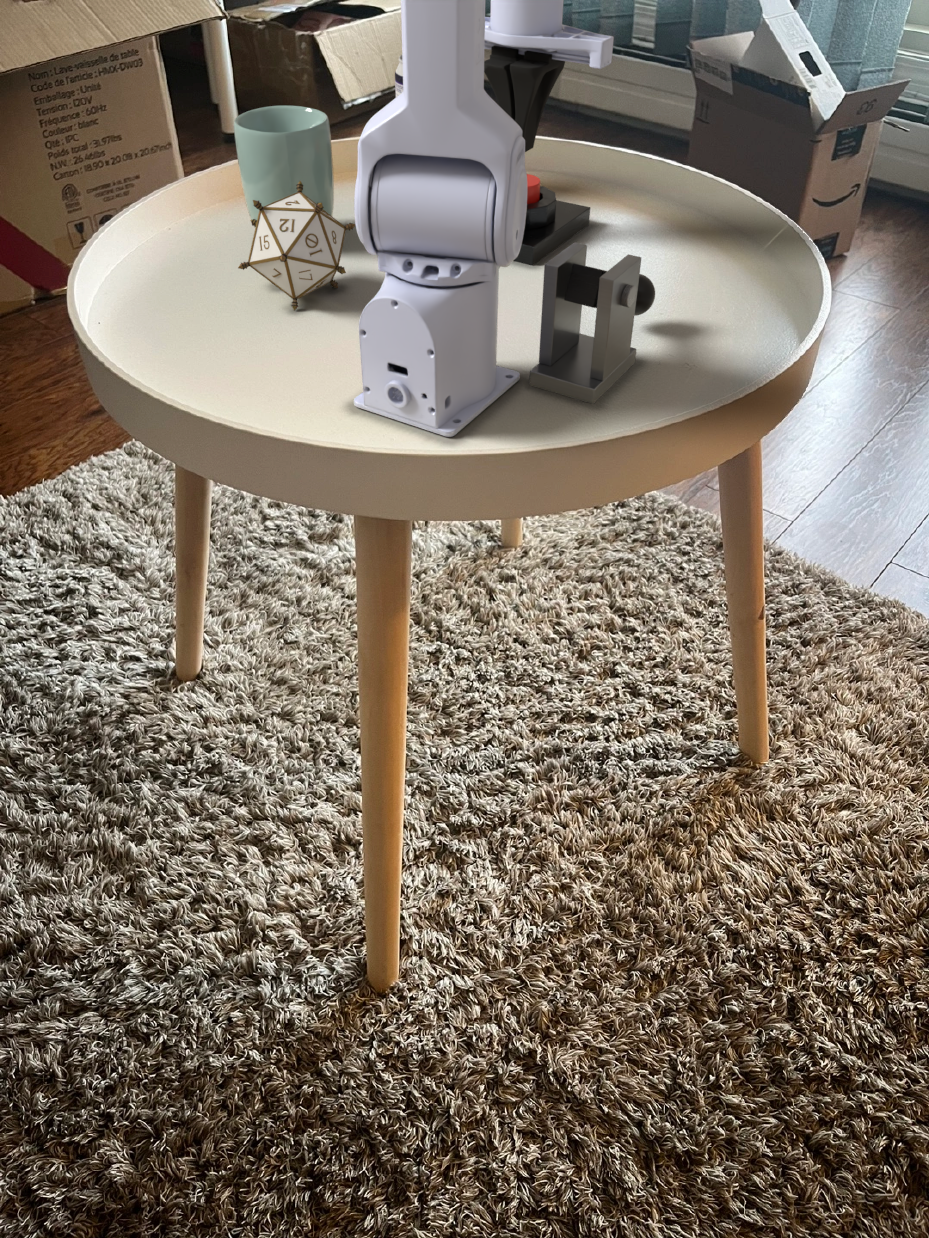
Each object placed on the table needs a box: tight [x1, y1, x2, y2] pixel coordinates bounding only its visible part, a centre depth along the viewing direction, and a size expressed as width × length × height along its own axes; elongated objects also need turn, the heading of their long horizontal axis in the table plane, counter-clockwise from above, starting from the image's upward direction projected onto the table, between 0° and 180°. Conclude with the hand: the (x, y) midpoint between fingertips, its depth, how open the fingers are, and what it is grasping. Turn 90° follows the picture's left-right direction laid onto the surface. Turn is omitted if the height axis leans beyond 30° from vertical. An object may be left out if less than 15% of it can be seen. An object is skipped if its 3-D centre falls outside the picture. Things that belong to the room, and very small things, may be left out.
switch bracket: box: [528, 241, 642, 405], centre depth 69 cm, size 7×6×8 cm
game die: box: [237, 181, 356, 312], centre depth 78 cm, size 9×8×10 cm
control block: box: [512, 185, 591, 267], centre depth 90 cm, size 11×9×4 cm
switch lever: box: [564, 263, 656, 317], centre depth 71 cm, size 12×3×3 cm, turn 149°
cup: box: [233, 105, 335, 229], centre depth 87 cm, size 8×8×10 cm
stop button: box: [527, 173, 541, 204], centre depth 88 cm, size 4×4×2 cm
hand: (521, 149), depth 86 cm, fingers closed
